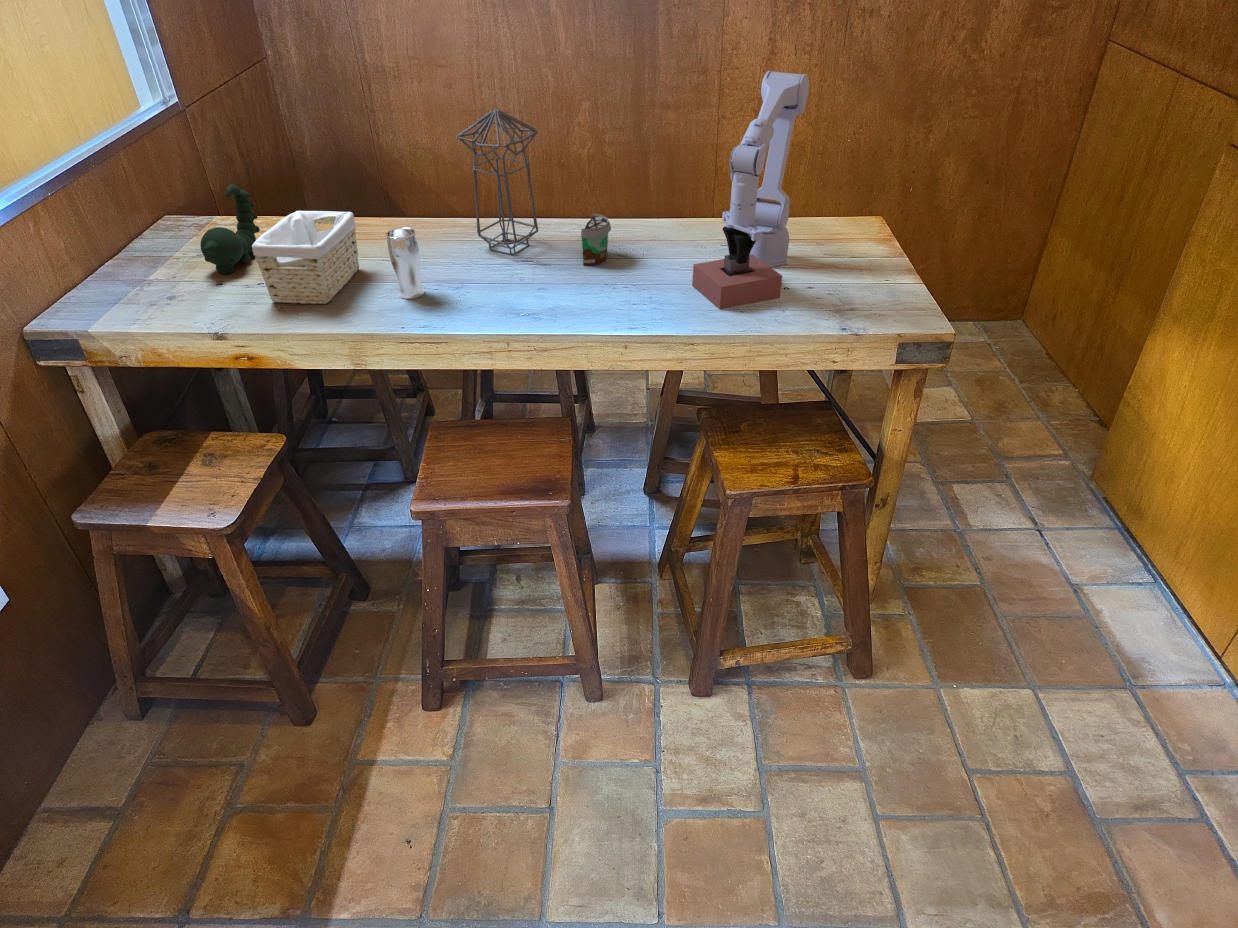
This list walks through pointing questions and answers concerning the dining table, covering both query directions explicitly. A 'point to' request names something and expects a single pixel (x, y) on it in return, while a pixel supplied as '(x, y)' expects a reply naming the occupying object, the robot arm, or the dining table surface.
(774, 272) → the box
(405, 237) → the beer glass
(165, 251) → the dining table surface
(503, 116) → the geometric lantern
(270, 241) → the storage basket
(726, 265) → the grey rectangular block
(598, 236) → the food container
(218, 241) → the toy figurine
